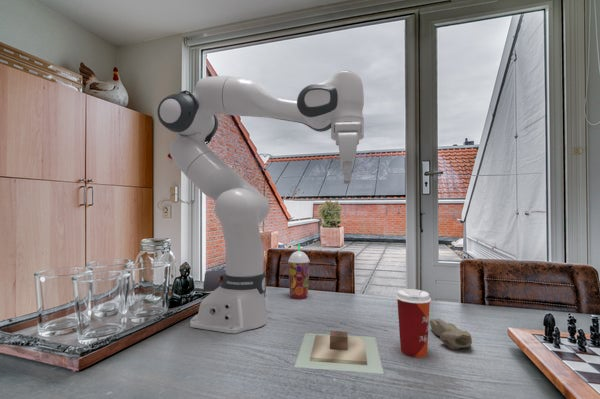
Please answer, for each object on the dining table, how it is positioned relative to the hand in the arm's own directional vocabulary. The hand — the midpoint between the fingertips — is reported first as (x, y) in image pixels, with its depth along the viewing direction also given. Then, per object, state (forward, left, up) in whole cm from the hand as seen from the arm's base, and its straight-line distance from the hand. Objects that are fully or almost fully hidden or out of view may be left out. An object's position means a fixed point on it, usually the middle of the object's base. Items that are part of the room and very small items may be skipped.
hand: (347, 182), depth 85 cm
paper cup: (+15, -10, -41) cm, 44 cm away
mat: (-2, -12, -41) cm, 42 cm away
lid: (-2, -12, -40) cm, 42 cm away
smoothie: (-18, +32, -41) cm, 55 cm away
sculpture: (+25, -1, -41) cm, 48 cm away
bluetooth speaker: (-42, +30, -41) cm, 66 cm away
